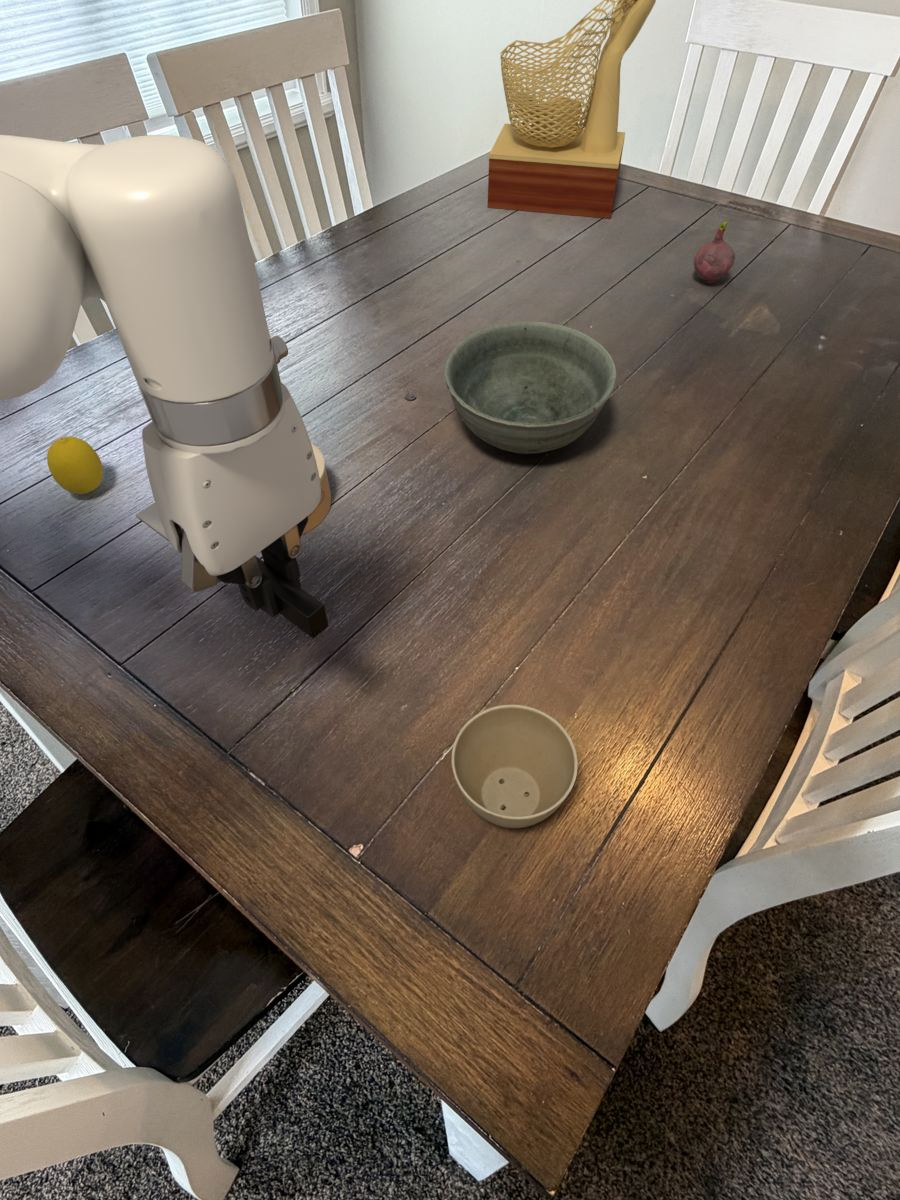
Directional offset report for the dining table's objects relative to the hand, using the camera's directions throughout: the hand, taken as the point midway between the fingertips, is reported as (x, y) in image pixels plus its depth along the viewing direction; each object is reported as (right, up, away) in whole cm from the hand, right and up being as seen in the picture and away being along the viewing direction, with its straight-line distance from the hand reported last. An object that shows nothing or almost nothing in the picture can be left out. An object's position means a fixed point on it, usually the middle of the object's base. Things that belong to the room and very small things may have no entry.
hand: (275, 596), depth 56 cm
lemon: (-31, +13, +33) cm, 47 cm away
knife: (-3, +2, +2) cm, 4 cm away
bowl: (+23, +21, +40) cm, 51 cm away
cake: (-7, +11, +31) cm, 34 cm away
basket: (+34, +78, +86) cm, 121 cm away
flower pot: (+19, -17, +8) cm, 27 cm away
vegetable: (+56, +52, +64) cm, 100 cm away
